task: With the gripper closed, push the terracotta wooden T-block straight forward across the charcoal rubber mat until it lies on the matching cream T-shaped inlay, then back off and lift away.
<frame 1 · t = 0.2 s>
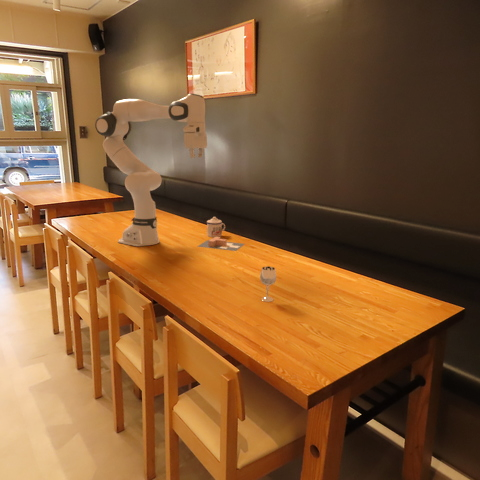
hand: (196, 157, 197), 47 cm above the table, tool pointing down, fingers open, 8 cm apart
wineglass: (267, 299, 145), on the table
t block: (218, 244, 214), point 1 cm above the table, touching t mat
teacup with lid: (216, 236, 235), on the table
t mat: (221, 246, 214), on the table
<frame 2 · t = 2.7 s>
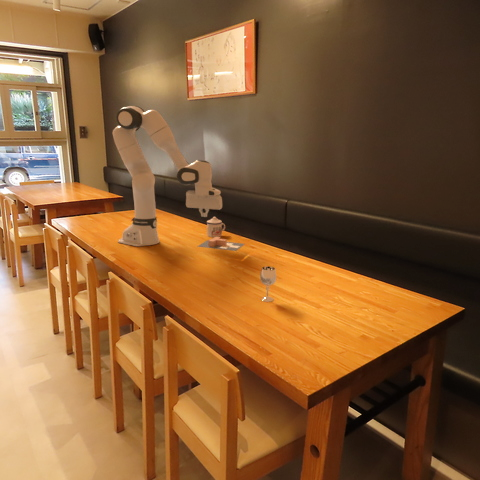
hand: (204, 216, 213), 16 cm above the table, tool pointing down, fingers closed
nothing on the table moved.
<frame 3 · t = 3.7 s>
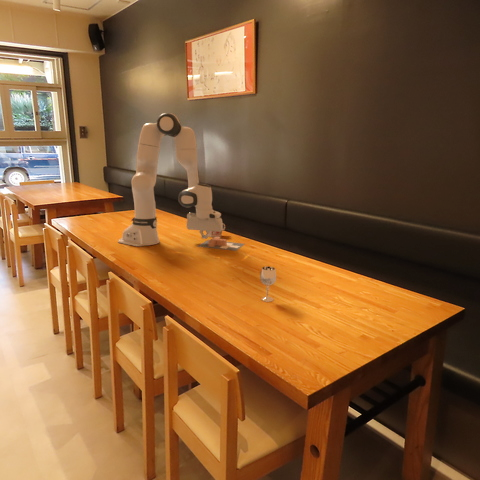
hand: (204, 238, 217), 3 cm above the table, tool pointing down, fingers closed
nothing on the table moved.
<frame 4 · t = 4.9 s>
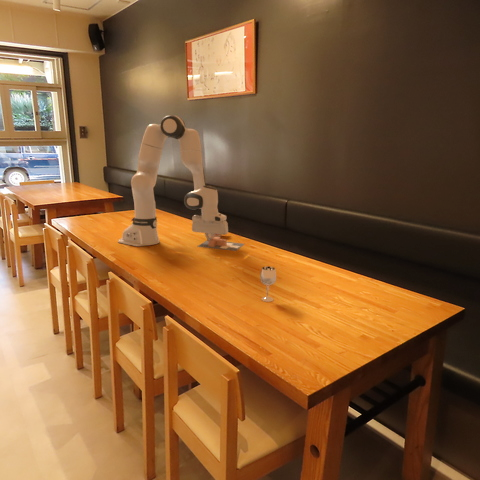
hand: (209, 240, 215), 2 cm above the table, tool pointing down, fingers closed
t block: (218, 244, 214), point 1 cm above the table, touching gripper, t mat
everything else where it was.
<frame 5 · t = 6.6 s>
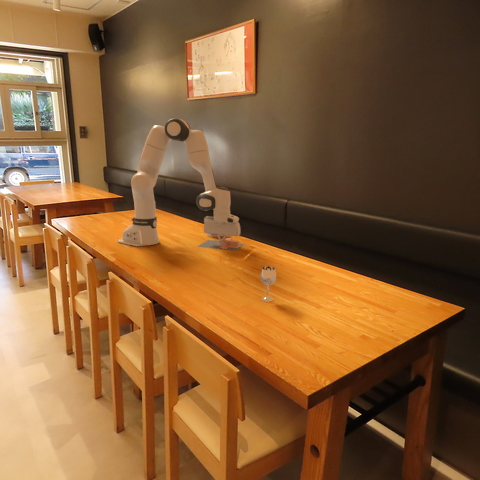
hand: (221, 242, 213), 2 cm above the table, tool pointing down, fingers closed
t block: (230, 246, 212), point 1 cm above the table, touching gripper, t mat
everything else where it was.
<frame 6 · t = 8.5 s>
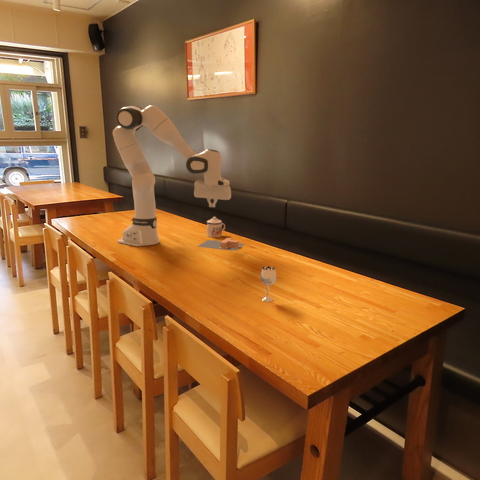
hand: (212, 206, 210), 21 cm above the table, tool pointing down, fingers closed
t block: (230, 246, 212), point 1 cm above the table, touching t mat
everything else where it was.
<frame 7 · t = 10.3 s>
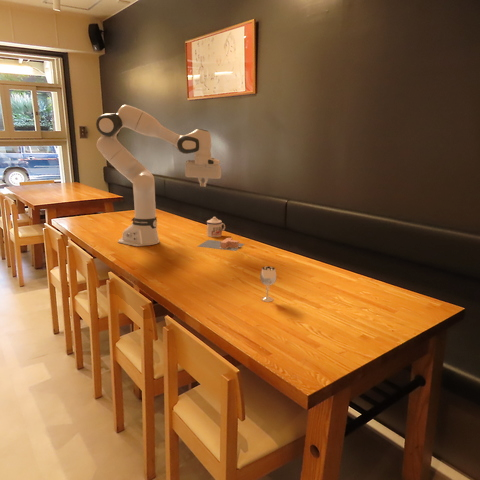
hand: (203, 186, 214), 31 cm above the table, tool pointing down, fingers closed
nothing on the table moved.
at the end: t block 0.3 cm from the target spot, point 0.6 cm above the table; t block tilted 0° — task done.
